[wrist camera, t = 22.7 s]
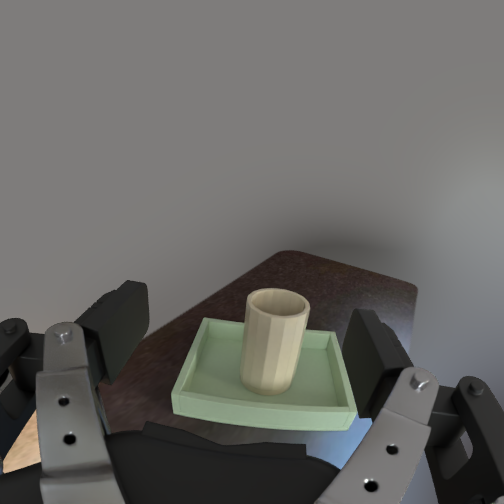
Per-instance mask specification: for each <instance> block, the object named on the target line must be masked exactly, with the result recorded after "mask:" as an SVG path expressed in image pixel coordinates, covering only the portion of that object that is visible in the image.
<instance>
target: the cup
mask: <svg viewBox="0 0 504 504" xmlns="http://www.w3.org/2000/svg"><path fill="white" fill-rule="evenodd" d="M309 311H310V306H309V302H308V301H307V300H306V299H305V298H304V297H303V296H301V295H299V294H297V293H295V292H291V291H288V290H284V289H275V288H268V289H260V290H257V291H254V292H252V293H251V294H250V295H248V298H247V304H246V314H245V324H244V334H243V343H242V353H241V363H240V381H241V382H242V384H243V385H244V386H245V387H246V388H247V389H248V390H250V391H252V392H254V393H256V394H260V395H267V396H271V395H278V394H281V393H283V392H285V391H286V390H288V389H289V388H290V386H291V385H292V381H293V379H294V376H295V372H296V368H297V364H298V360H299V355H300V351H301V347H302V343H303V338H304V334H305V329H306V325H307V320H308V316H309Z"/></svg>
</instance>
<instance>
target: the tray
mask: <svg viewBox="0 0 504 504" xmlns="http://www.w3.org/2000/svg"><path fill="white" fill-rule="evenodd" d="M244 324H245V323H240V322H232V321H225V320H218V319H211V318H204V319H203V321H202V323H201V325H200V328H199V330H198V332H197V335H196V337H195V339H194V341H193V344H192V346H191V348H190V351H189V353H188V355H187V358H186V360H185V362H184V365H183V367H182V369H181V372H180V374H179V376H178V379H177V381H176V383H175V386H174V388H173V390H172V393H171V398H172V406H173V413H174V414H178V415H182V416H187V417H192V418H197V419H203V420H208V421H214V422H220V423H227V424H234V425H242V426H250V427H259V428H271V429H284V430H306V431H347V430H348V429H349V427H350V425H351V423H352V421H353V420H354V418H355V416H356V414H357V409H356V405H355V401H354V397H353V394H352V390H351V386H350V383H349V379H348V375H347V372H346V368H345V365H344V361H343V358H342V354H341V351H340V348H339V344H338V341H337V338H336V334H335V332H329V331H316V330H305V334H304V338H303V343H302V347H301V351H300V355H299V360H298V364H297V368H296V372H295V376H294V379H293V381H292V385H291V386H290V388H289V389H288V390H286V391H285V392H283V393H281V394H278V395H271V396H267V395H260V394H256V393H254V392H252V391H250V390H248V389H247V388H246V387H245V386H244V385H243V384H242V382H241V381H240V363H241V353H242V343H243V334H244Z"/></svg>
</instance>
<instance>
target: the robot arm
mask: <svg viewBox="0 0 504 504" xmlns="http://www.w3.org/2000/svg"><path fill="white" fill-rule="evenodd" d="M148 327H149V305H148V290H147V285H146V284H145V283H141V282H136V281H130V280H127V281H126V282H124V283H123V284H122V285H121V286H120V287H119V288H118V289H117V290H113V291H111V292H108V293H106V294H104V295H103V296H102V297H101V298H99V299H98V300H97V302H95V303H94V304H93V305H92V306H91V308H88V310H86V311H85V312H84V313H83V314H82V315H81V316H80V317H79V318H78V319H77V320H76V321H75V322H74V323H72V322H62V323H57V324H55V325H53V326H51V327H50V328H49V329H47V331H46V332H45V334H38V333H29V329H28V326H27V323H26V322H25V321H24V320H23V319H20V318H11V319H7V320H5V321H3V322H1V323H0V376H1V375H2V374H3V373H4V371H5V370H6V369H7V368H8V369H9V371H10V374H11V376H12V378H13V379H12V380H11V382H10V383H9V384H8V385H7V386H6V388H5V389H4V390H3V391H2V393H1V394H0V504H400V502H401V500H402V498H403V496H404V494H405V492H406V490H407V488H408V486H409V484H410V481H411V479H412V477H413V475H414V473H415V470H416V468H417V466H418V463H419V461H420V459H421V456H422V454H423V451H425V454H426V458H427V461H428V464H429V468H430V472H431V475H432V479H433V483H434V487H435V491H436V495H437V499H438V503H439V504H504V412H503V410H502V408H501V406H500V405H499V403H498V401H497V400H496V398H495V396H494V395H493V393H492V392H491V390H490V388H489V387H488V386H487V384H486V383H485V382H483V381H482V380H481V379H479V378H476V377H473V376H466V377H463V378H462V379H461V380H460V381H459V383H458V385H457V386H456V388H452V387H446V386H440V385H439V383H438V380H437V378H436V377H435V376H434V375H433V374H432V373H431V372H429V371H427V370H425V369H423V368H419V367H414V366H413V364H412V362H411V360H410V358H409V357H408V355H407V353H406V351H405V350H404V348H403V347H402V344H401V343H400V341H399V340H398V338H397V336H396V334H395V332H394V331H393V330H392V329H391V328H390V327H389V326H387V325H386V324H385V323H381V321H380V320H379V318H378V316H377V315H376V313H375V311H374V310H368V309H354V311H353V313H352V315H351V319H350V322H349V326H348V329H347V332H346V336H345V339H344V342H343V347H342V356H343V360H344V364H345V367H346V371H347V374H348V378H349V381H350V385H351V388H352V392H353V396H354V400H355V403H356V407H357V411H358V415H359V418H371V419H372V423H373V424H372V425H371V427H370V429H369V430H368V432H367V433H366V435H365V436H364V438H363V439H362V441H361V443H360V444H359V445H358V447H357V448H356V450H355V451H354V453H353V454H352V456H351V457H350V458H349V460H348V461H347V463H346V464H345V465H344V467H343V468H342V469H341V470H340V469H339V468H337V467H336V466H334V465H332V464H330V463H328V462H326V461H324V460H322V459H319V458H316V457H313V456H309V455H306V444H287V443H271V442H263V443H253V444H241V445H220V444H217V443H214V442H212V441H209V440H207V439H204V438H202V437H199V436H197V435H194V434H192V433H190V432H187V431H185V430H182V429H177V428H173V427H169V426H165V425H161V424H157V423H153V422H149V421H146V423H145V425H144V427H143V430H142V431H140V430H131V431H121V432H116V433H112V432H111V429H110V426H109V423H108V420H107V416H106V413H105V409H104V406H103V402H102V398H101V394H100V390H99V387H98V383H99V382H102V383H105V384H109V385H112V384H113V382H114V381H115V379H116V377H117V376H118V374H119V373H120V371H121V370H122V368H123V367H124V365H125V364H126V362H127V361H128V359H129V358H130V356H131V355H132V353H133V352H134V350H135V349H136V347H137V346H138V344H139V343H140V341H141V340H142V338H143V337H144V335H145V334H146V332H147V330H148ZM35 410H36V412H37V428H38V439H39V448H40V456H41V462H39V463H36V464H33V465H30V466H27V467H24V468H21V469H18V470H15V471H12V472H8V473H5V474H4V472H3V460H4V458H5V457H6V455H7V453H8V452H9V450H10V449H11V447H12V445H13V444H14V442H15V440H16V439H17V437H18V436H19V434H20V433H21V431H22V429H23V428H24V426H25V425H26V423H27V422H28V420H29V419H30V417H31V416H32V414H33V413H34V411H35ZM465 431H467V433H468V436H469V438H470V440H471V442H472V445H473V453H472V456H471V458H470V459H468V456H467V454H466V451H465V449H464V446H463V444H462V441H461V439H460V437H461V436H462V435H463V433H464V432H465Z"/></svg>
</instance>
